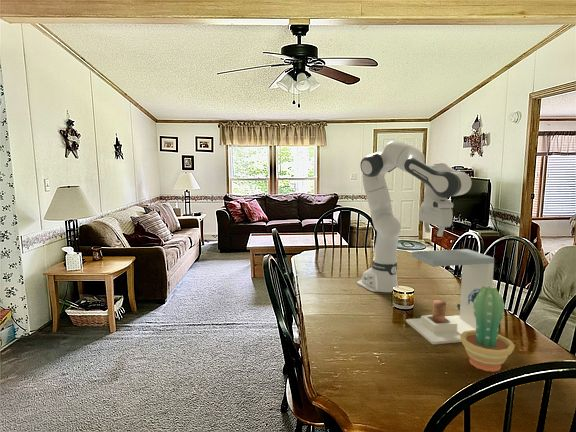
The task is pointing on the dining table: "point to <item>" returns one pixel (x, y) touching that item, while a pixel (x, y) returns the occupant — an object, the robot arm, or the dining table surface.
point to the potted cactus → (487, 331)
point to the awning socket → (473, 276)
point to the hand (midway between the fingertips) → (433, 234)
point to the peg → (439, 311)
